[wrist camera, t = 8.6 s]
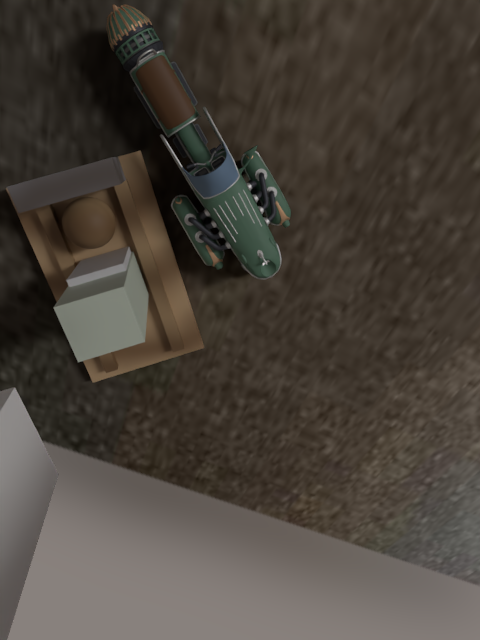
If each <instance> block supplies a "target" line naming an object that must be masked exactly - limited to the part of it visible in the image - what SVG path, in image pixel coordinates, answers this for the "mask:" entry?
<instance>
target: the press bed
mask: <svg viewBox="0 0 480 640" xmlns="http://www.w3.org/2000/svg"><path fill="white" fill-rule="evenodd" d="M6 190H7V192H8V194H9V197H10V199H11V201H12V203H13V206H14V208H15V210H16V212H17V215H18V217H19V219H20V221H21V223H22V226H23V228H24V230H25V232H26V235H27V237H28V239H29V241H30V244H31V246H32V248H33V250H34V252H35V255H36V257H37V259H38V261H39V264H40V266H41V268H42V270H43V273H44V275H45V277H46V279H47V282H48V284H49V286H50V288H51V290H52V293H53V295H54V297H55V299H56V302H58V300H59V299H60V297H61V296H62V294H63V293H64V291H65V290H66V288H67V287H68V283H67V281H66V280H67V279H68V277H69V276H70V274H71V273H72V272H73V270H74V269H75V268H76V266H77V265H78V264H79V262H80V261H81V260H84V259H87V258H90V257H94V256H97V255H101V254H104V253H107V252H111V251H114V250H118V249H121V248H124V247H128V246H129V247H130V250H131V252H132V251H134V254H135V257H136V260H137V262H138V265H139V268H140V271H141V274H142V276H143V279H144V282H145V285H146V287H147V290H148V293H149V298H148V311H147V323H146V336H145V342H143V343H140V344H137V345H133V346H130V347H127V348H124V349H120V350H117V351H114V352H111V353H107V354H104V355H101V356H98V357H94V358H91V359H88V360H85V361H83V362H84V364H85V366H86V369H87V371H88V373H89V375H90V377H91V380H92V382H96V381H99V380H103V379H106V378H109V377H112V376H116V375H119V374H122V373H125V372H128V371H132V370H135V369H138V368H141V367H144V366H148V365H151V364H154V363H157V362H160V361H164V360H167V359H170V358H173V357H177V356H180V355H183V354H186V353H189V352H193V351H196V350H199V349H202V348H204V345H203V341H202V338H201V335H200V332H199V329H198V326H197V323H196V320H195V317H194V313H193V310H192V307H191V304H190V301H189V298H188V295H187V292H186V289H185V286H184V283H183V280H182V276H181V273H180V270H179V267H178V264H177V261H176V258H175V255H174V252H173V249H172V246H171V242H170V239H169V236H168V233H167V230H166V227H165V224H164V221H163V218H162V215H161V212H160V209H159V205H158V202H157V199H156V196H155V193H154V190H153V187H152V184H151V181H150V178H149V175H148V172H147V168H146V165H145V162H144V159H143V156H142V153H141V151H137V152H133V153H130V154H126V155H123V156H119V157H112V158H108V159H104V160H101V161H97V162H94V163H90V164H87V165H83V166H79V167H76V168H72V169H69V170H65V171H62V172H58V173H55V174H51V175H47V176H44V177H40V178H37V179H33V180H30V181H26V182H23V183H19V184H15V185H12V186H8V187H7V188H6ZM82 197H93V198H97V199H99V200H101V201H103V202H104V203H105V204H107V205H108V206H109V208H110V209H111V210H112V212H113V214H114V216H115V221H116V229H115V233H114V235H113V237H112V239H111V240H110V241H109V242H108V243H107V244H105V245H104V246H102V247H100V248H96V249H86V248H82V247H79V246H77V245H75V244H74V243H73V242H71V241H70V240H69V238H68V237H67V236H66V234H65V232H64V229H63V225H62V217H63V213H64V211H65V209H66V207H67V206H68V205H69V204H70V203H71V202H72V201H74V200H76V199H78V198H82Z"/></svg>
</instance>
